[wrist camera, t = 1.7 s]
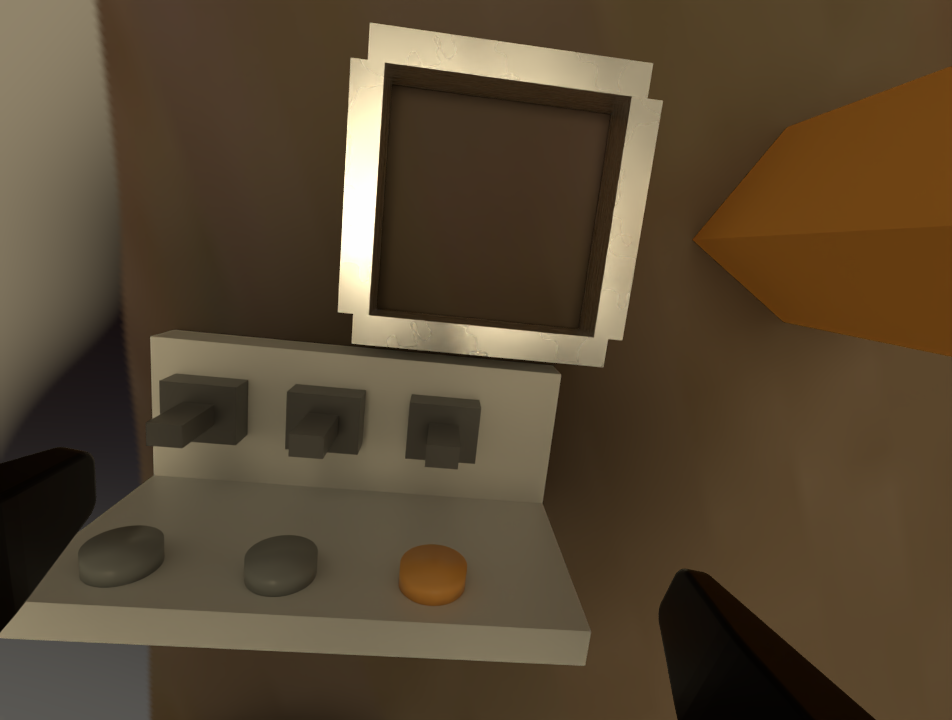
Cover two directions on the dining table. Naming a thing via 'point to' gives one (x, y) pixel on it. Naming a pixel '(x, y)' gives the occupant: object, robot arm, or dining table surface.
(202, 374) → the breaker bank
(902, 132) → the cap
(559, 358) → the frame
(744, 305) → the dining table surface
